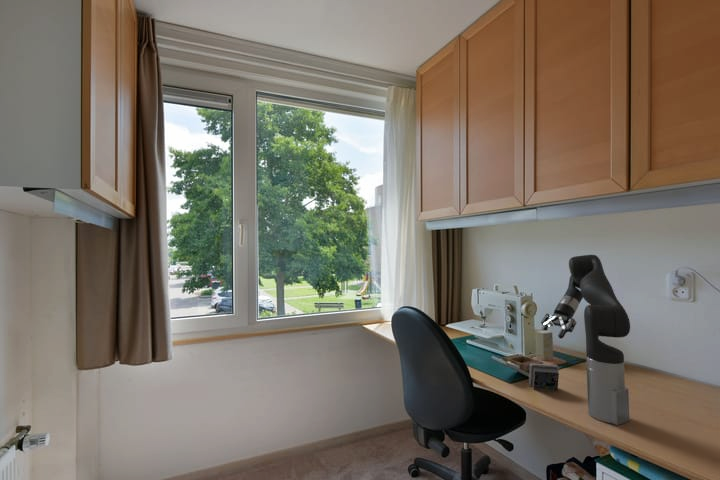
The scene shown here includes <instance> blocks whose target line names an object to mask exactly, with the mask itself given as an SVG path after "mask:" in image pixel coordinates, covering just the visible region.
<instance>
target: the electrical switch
mask: <svg viewBox="0 0 720 480" xmlns="http://www.w3.org/2000/svg"><path fill="white" fill-rule="evenodd" d="M559 371H560V367H559V366H558V365H550V364H535V363H531V364H530V372H529V374H530V375H529V377H528V384H529V386H530V387H531V388H532V387H533V390H534V391H535V390H536V391H546V392H558V389H559V375H560V373H559Z"/></svg>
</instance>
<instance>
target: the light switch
mask: <svg viewBox="0 0 720 480" xmlns="http://www.w3.org/2000/svg"><path fill="white" fill-rule="evenodd" d="M491 359H493V360H494V361H496V362H498V363H500V364H502V365H504V366H506V367H508V368H509V369H511V370H514V371H515V372H517V373H520V374H522V375H524V376H526V377H528V378H529V375H530V372H529V373H527V372H525V371H523V370H521V369H520V368H519V366H517V365H515V364H513V363H511V362H509V361H508V362H505V361H503V358H499V357H497V356H494V355H492V356H491Z"/></svg>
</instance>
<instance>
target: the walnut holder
mask: <svg viewBox="0 0 720 480" xmlns="http://www.w3.org/2000/svg"><path fill="white" fill-rule="evenodd" d="M519 354H520V353H517V354H513V355H512V354H511V355H508V356H502V360H503V361H505V362H508V361H509V362H511V363H513V364H515V365H517V366H519V368H520V369H521V370H523V371H525V372H527V373H529V374H530V364H531V363H535V364H543V362H541V361H538V360H535V359H532V358H529V357H526V356H527V355H523V354H520V355H519Z"/></svg>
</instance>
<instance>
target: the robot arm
mask: <svg viewBox="0 0 720 480" xmlns="http://www.w3.org/2000/svg"><path fill="white" fill-rule="evenodd" d="M569 258H570V259H569V261H568V269H569V271H570V277H569V282H568V287H567V290H566V291H565V293H564V295H563V297H562V298H561V299H560V300H559V302H558V303H557V305H556V307H555V309H554V310H553V314H551V315H550V314H549V313H545V315H544V316H543V318H541V319H542V320H541V321H540V324H541V325H542V327H541V328H540V331H542V330H545V331H548V329H549V328H550V327H554V326H558V327H561V329H560V331H559V333H558V334H557V337H558V338H559V339H561V340H562V339H563V338H564V337H565V335H566V334H567V333H568V332H569V333H572V332H573V331H574V329H575V326H576V325H577V321H576V320H575V318H574V315H575V313H576V312H577V310H578V308H579V305H580V303H581V302H582V300H585V302H586V303H588V305H586V306H585V308H584V312H583V321H584V329H585V331H584V332H585V345H586V346H585V347H586V349H585V350H586V353H585V354H586V385H587V386H586V389H587V390H586V392H587V412H588V415H590V416H591V417H592V418H593V419H596V420H598V421H602V422H604V423H609V424H613V425H616V426H619V425H622V424H625V423H628V422H629V421H630V401H629V399H630V397H629V396H630V394H629V388H628V387H626V386H625V385H626V384H625V383H626V381H625V356H624V352H623V351H622V350H621V349H619V348H616V347H614V346H613V345H609V344H606V343H605V342H603V341H601V340H600V338H599V337H606V338H618V339H619V338H625V337H627V336H628V335H629V334H630V331H631V321H630V317H629V315H628V313H627V311H626V309H625V308H624V307H623V305H622V304H621V302H620V300H618V298H617V296H616V294H615V292H614V289H613V287H612V285H611V283H610V281H609V279H608V277H607V275H606V273H605V270H604V268H603V264H602V261H601V258H599V256H598V255H595V254H586V255H577V256H572V257H569ZM567 324H568V325H567Z"/></svg>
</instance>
